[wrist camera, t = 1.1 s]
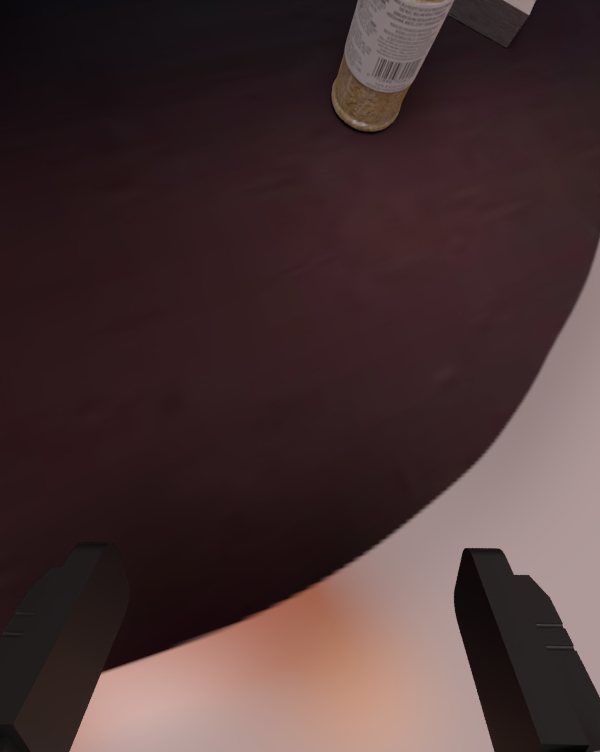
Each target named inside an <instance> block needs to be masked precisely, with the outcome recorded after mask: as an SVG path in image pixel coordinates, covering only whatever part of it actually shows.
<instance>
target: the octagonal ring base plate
mask: <svg viewBox="0 0 600 752" xmlns="http://www.w3.org/2000/svg"><path fill="white" fill-rule="evenodd" d="M535 1H536V0H454V2H453V4H452V6H451V8H450V10H449V12H448V15H449V16H451V17H453V18H454V19H456V20H458V21H460V22H461V23H463V24H465V25H467V26H468V27H470V28H472V29H474V30H475V31H477V32H479V33H481V34H482V35H484V36H486V37H488V38H489V39H491V40H493V41H495V42H496V43H498V44H500V45H502V46H503V47H505V48H507V46H508V45H509V43H510V42H511V41H512V39H513V38H514V36H515V35H516V33H517V32H518V31H519V29H520V28H521V26H522V25H523V23H524V22H525V20H526V19H527V18H528V16H529V14H530V12H531V10H532V7H533V5H534V3H535Z"/></svg>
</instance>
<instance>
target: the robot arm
mask: <svg viewBox="0 0 600 752" xmlns="http://www.w3.org/2000/svg"><path fill="white" fill-rule="evenodd" d="M128 600H129V584H128V580H127V577H126V574H125V571H124V568H123V565H122V562H121V559H120V555H119V552H118V549H117V547H116V545H115V544H114V543H93V542H82V543H79V544H77V545H76V546H75V547H74V549H73V550H72V552H71V554H70V555H69V557H68V559H67V560H66V562H65V564H64V565H63V567H52V568H51V569H50V570H49V571H48V572H47V573H45V574H44V575H43V576H42V577H41V578H40V579H39V580H38V581H37V582H36V583H35V584H34V585H33V586H31V587H30V589H29V591H28V592H27V594H26V595H25V597H24V598H23V600H22V602H21V603H20V605H19V606H18V608H17V609H16V613H15V615H14V616H12V617H11V619H10V620H9V622H8V624H7V625H6V627H5V628H4V630H3V634H2V636H0V752H69V751H70V749H71V746H72V744H73V741H74V739H75V736H76V734H77V731H78V729H79V726H80V724H81V721H82V719H83V716H84V714H85V711H86V709H87V707H88V704H89V702H90V699H91V697H92V694H93V692H94V689H95V686H96V684H97V682H98V679H99V677H100V674H101V672H102V669H103V667H104V665H105V662H106V660H107V657H108V655H109V652H110V650H111V647H112V645H113V642H114V640H115V637H116V635H117V632H118V630H119V627H120V625H121V623H122V620H123V618H124V615H125V612H126V609H127V606H128ZM454 606H455V613H456V618H457V622H458V625H459V629H460V633H461V636H462V639H463V643H464V647H465V650H466V654H467V657H468V660H469V664H470V668H471V671H472V675H473V678H474V682H475V685H476V689H477V692H478V696H479V699H480V702H481V706H482V710H483V713H484V717H485V720H486V724H487V727H488V731H489V734H490V738H491V741H492V745H493V748H494V751H495V752H600V697H599V695H598V693H597V691H596V689H595V687H594V685H593V683H592V681H591V679H590V677H589V675H588V673H587V671H586V669H585V667H584V665H583V663H582V661H581V660H580V657H579V655H578V653H577V651H575V650H574V648H573V643H572V641H571V639H570V637H569V635H568V633H567V631H566V629H565V628H563V626H562V624H563V623H562V621H561V619H560V617H559V615H558V613H557V611H556V609H555V607H554V605H553V603H552V601H551V599H550V597H549V596H548V595H547V594H546V593H545V592H544V591H543V590H542V589H541V588H540V587H539V586H538V585H537V583H536V582H535V581H534V580H533V579H532V578H531V577H530V576H529V575H514V574H513V572H512V570H511V567H510V565H509V563H508V561H507V559H506V556H505V554H504V553H503V551H502V550H500V549H496V548H495V549H494V548H488V549H487V548H465V549H464V550H463V553H462V557H461V562H460V567H459V571H458V576H457V581H456V586H455V590H454Z"/></svg>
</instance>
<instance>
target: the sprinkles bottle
mask: <svg viewBox="0 0 600 752" xmlns="http://www.w3.org/2000/svg"><path fill="white" fill-rule="evenodd" d="M453 2H454V0H358V3H357V6H356V10H355V13H354V17H353V20H352V23H351V27H350V30H349V34H348V37H347V41H346V45H345V52H344V55H343V59H342V62H341V66H340V69H339V72H338V76H337V78H336V79H335V81H334V83H333V86H332V93H331V96H332V103H333V106H334V109H335V112H336V113H337V114H338V116H339V117H340V118H341V119H342V120H344V122H345V123H346V124H348V125H350V126H351V127H353V128H355V129H357V130H360V131H371V132H372V131H378V130H382V129H385V128H386V127H388V126H389V125H390V124H391V123H393V122H394V120H395V118H396V117H397V115H398V113H399V111H400V107H401V103H402V100H403V99H404V97H405V95H406V93H407V91H408V89H409V87H410V85H411V83H412V82H413V81H414V79H415V77H416V75H417V73H418V71H419V69H420V67H421V65H422V63H423V61H424V59H425V57H426V55H427V53H428V51H429V50H430V48H431V46H432V44H433V42H434V40H435V38H436V36H437V34H438V32H439V30H440V28H441V26H442V24H443V22H444V20H445V18H446V16H447V14H448V12H449V10H450V8H451V6H452V4H453Z"/></svg>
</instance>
